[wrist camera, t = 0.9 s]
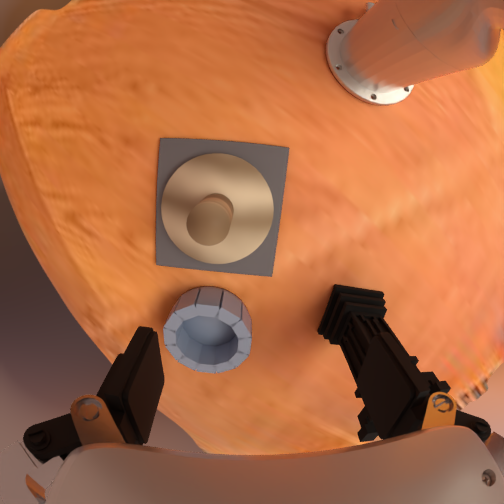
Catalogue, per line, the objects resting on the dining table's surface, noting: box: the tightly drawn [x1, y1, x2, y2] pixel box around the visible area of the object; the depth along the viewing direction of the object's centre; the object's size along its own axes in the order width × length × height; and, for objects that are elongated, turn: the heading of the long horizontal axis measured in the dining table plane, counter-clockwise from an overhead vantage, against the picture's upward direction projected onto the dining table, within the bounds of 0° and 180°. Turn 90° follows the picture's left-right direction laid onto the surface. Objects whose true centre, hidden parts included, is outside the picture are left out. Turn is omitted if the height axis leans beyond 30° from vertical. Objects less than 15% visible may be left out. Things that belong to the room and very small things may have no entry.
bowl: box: [163, 286, 252, 373], centre depth 36 cm, size 11×11×5 cm
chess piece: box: [317, 284, 451, 442], centre depth 28 cm, size 8×8×20 cm
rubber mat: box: [156, 138, 289, 277], centre depth 32 cm, size 16×15×1 cm
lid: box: [161, 153, 274, 264], centre depth 28 cm, size 13×13×8 cm
